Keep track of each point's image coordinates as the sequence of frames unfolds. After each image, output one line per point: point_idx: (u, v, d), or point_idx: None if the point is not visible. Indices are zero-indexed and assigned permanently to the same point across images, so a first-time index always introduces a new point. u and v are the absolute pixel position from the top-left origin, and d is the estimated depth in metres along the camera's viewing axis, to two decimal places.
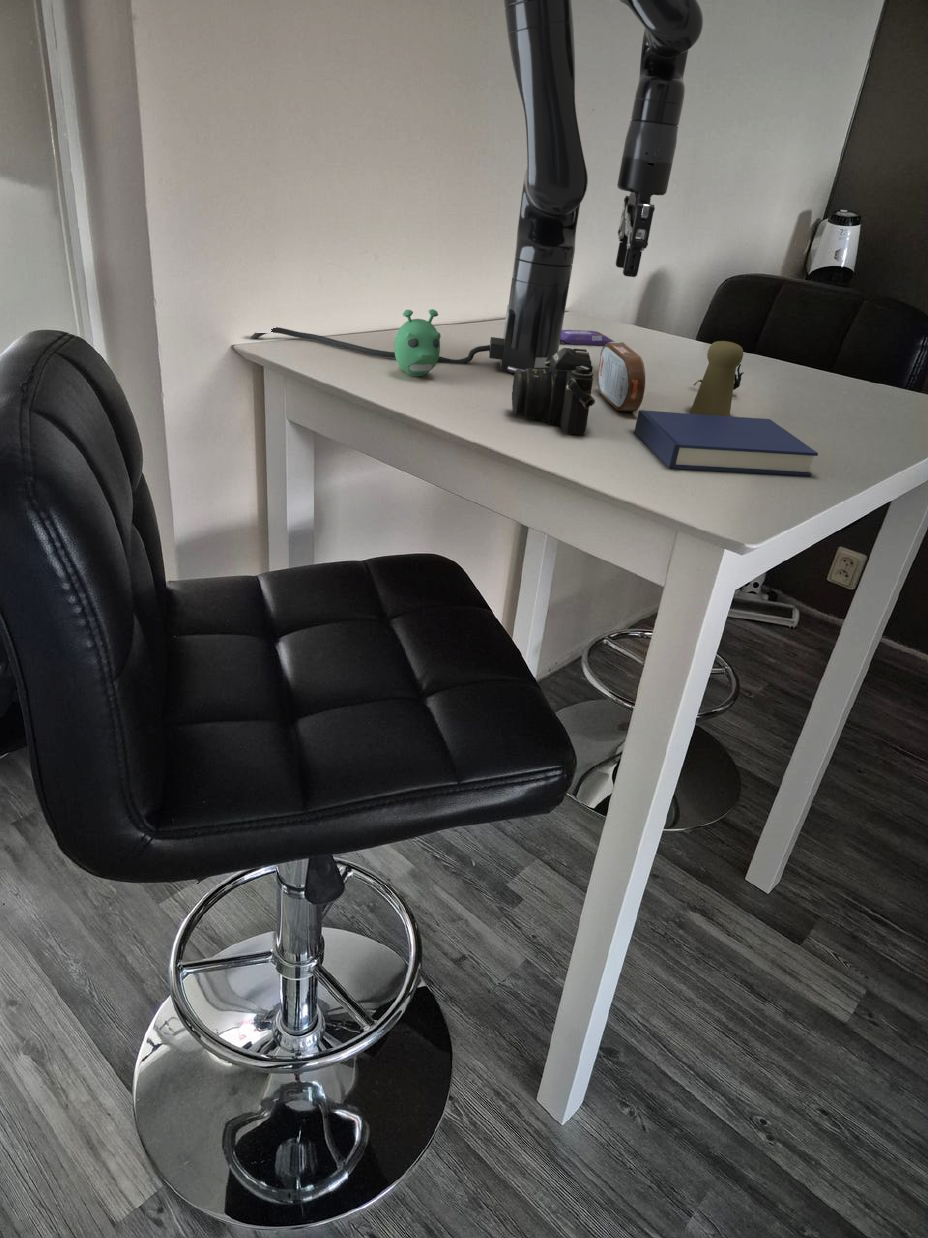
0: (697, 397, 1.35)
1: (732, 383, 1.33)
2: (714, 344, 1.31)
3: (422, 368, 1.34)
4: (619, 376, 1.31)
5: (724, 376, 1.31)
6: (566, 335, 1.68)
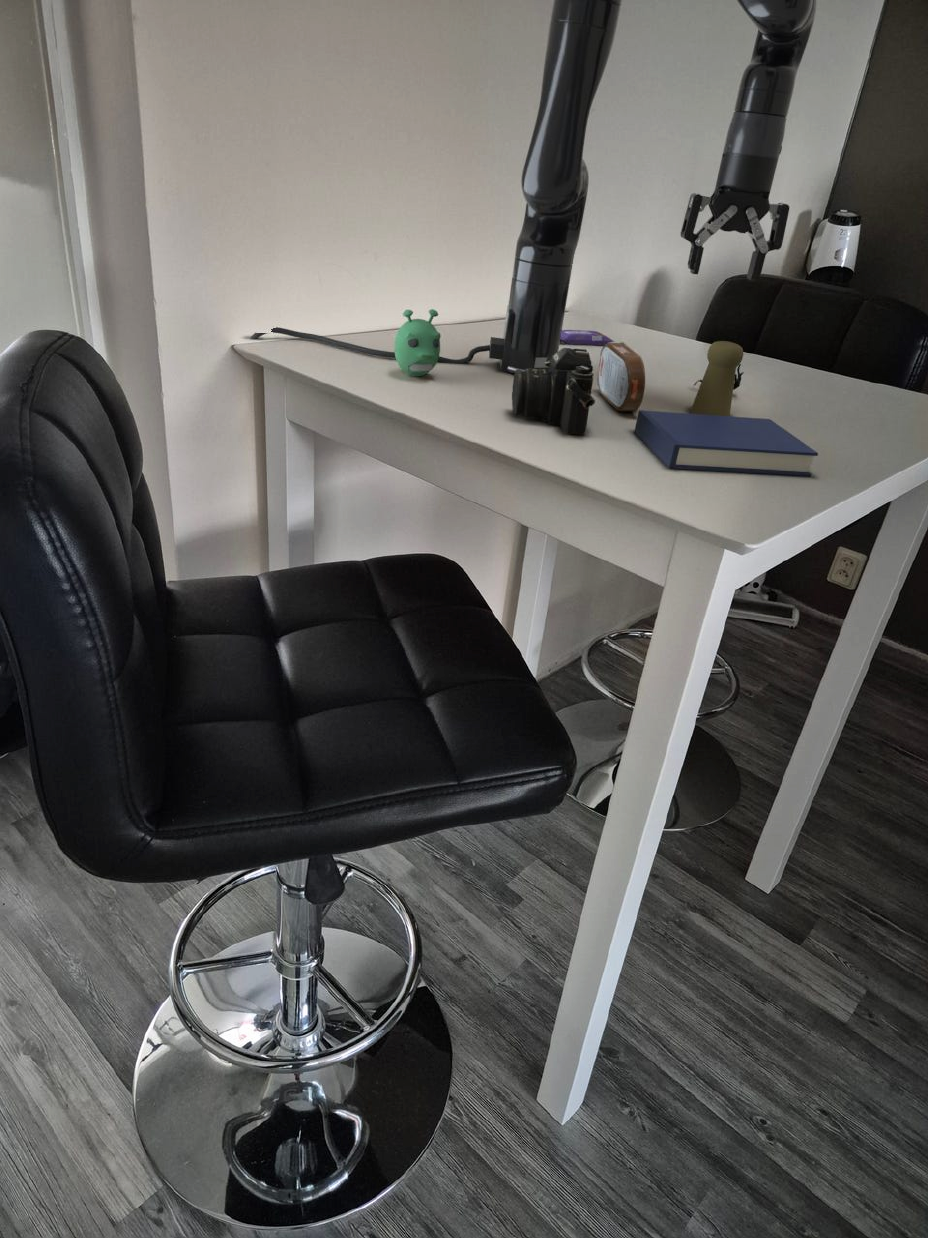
0: (697, 397, 1.35)
1: (732, 383, 1.33)
2: (714, 344, 1.31)
3: (422, 368, 1.34)
4: (619, 376, 1.31)
5: (724, 376, 1.31)
6: (566, 335, 1.68)
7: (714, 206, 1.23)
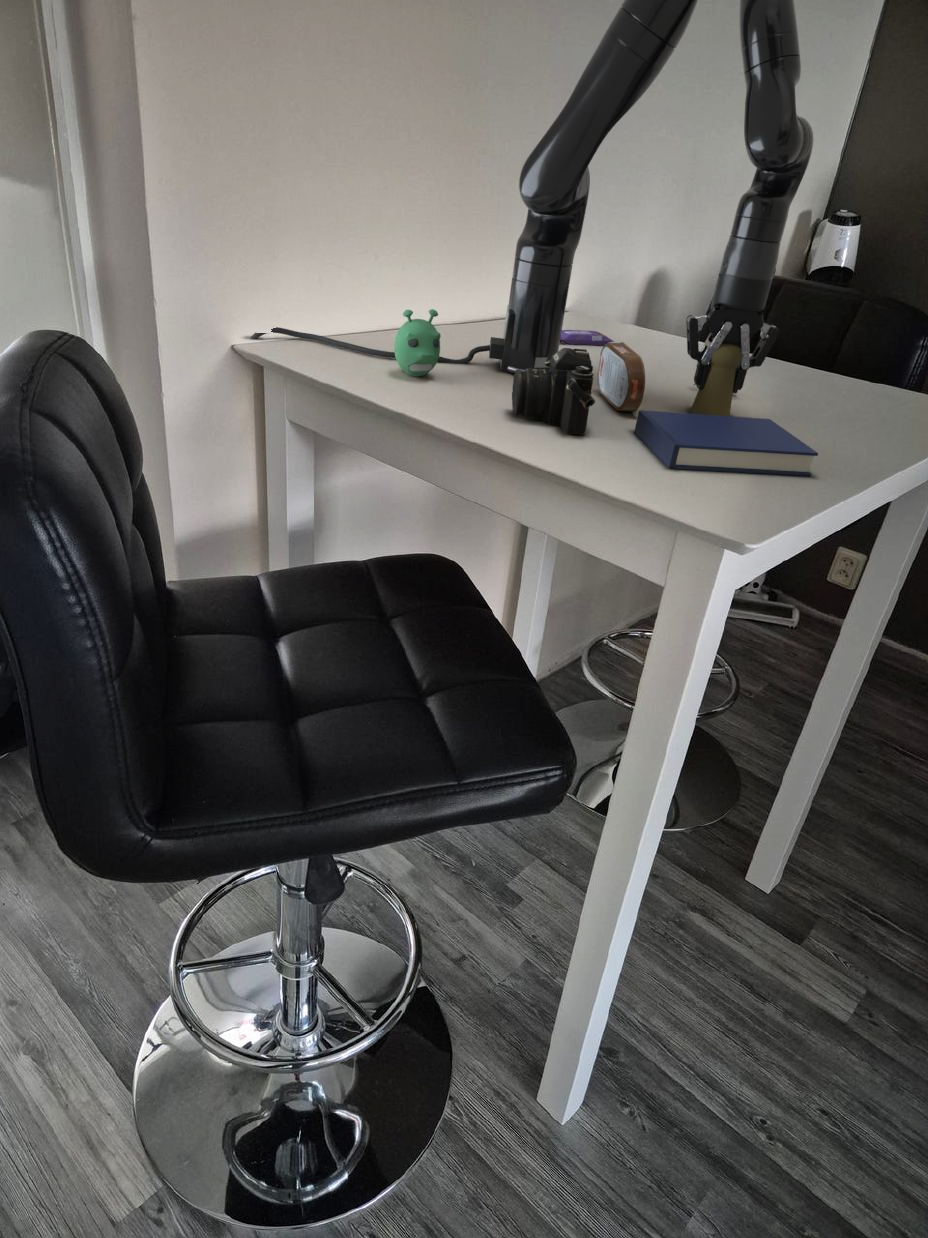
0: (697, 397, 1.35)
1: (732, 383, 1.33)
2: None
3: (422, 368, 1.34)
4: (619, 376, 1.31)
5: (724, 376, 1.31)
6: (566, 335, 1.68)
7: (711, 323, 1.29)
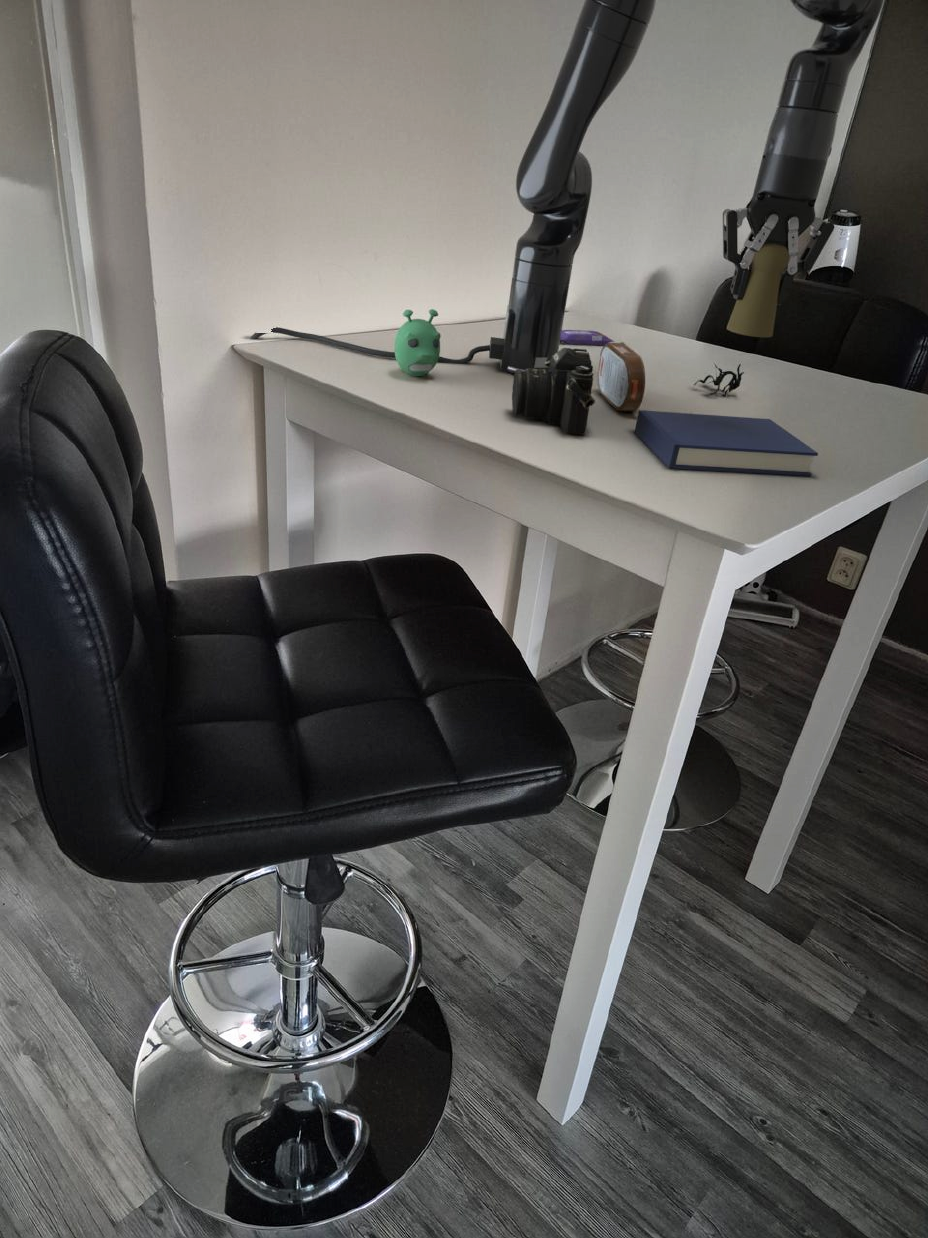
0: (735, 310, 1.14)
1: (777, 291, 1.12)
2: None
3: (422, 368, 1.34)
4: (619, 376, 1.31)
5: (768, 282, 1.11)
6: (566, 335, 1.68)
7: (753, 216, 1.08)
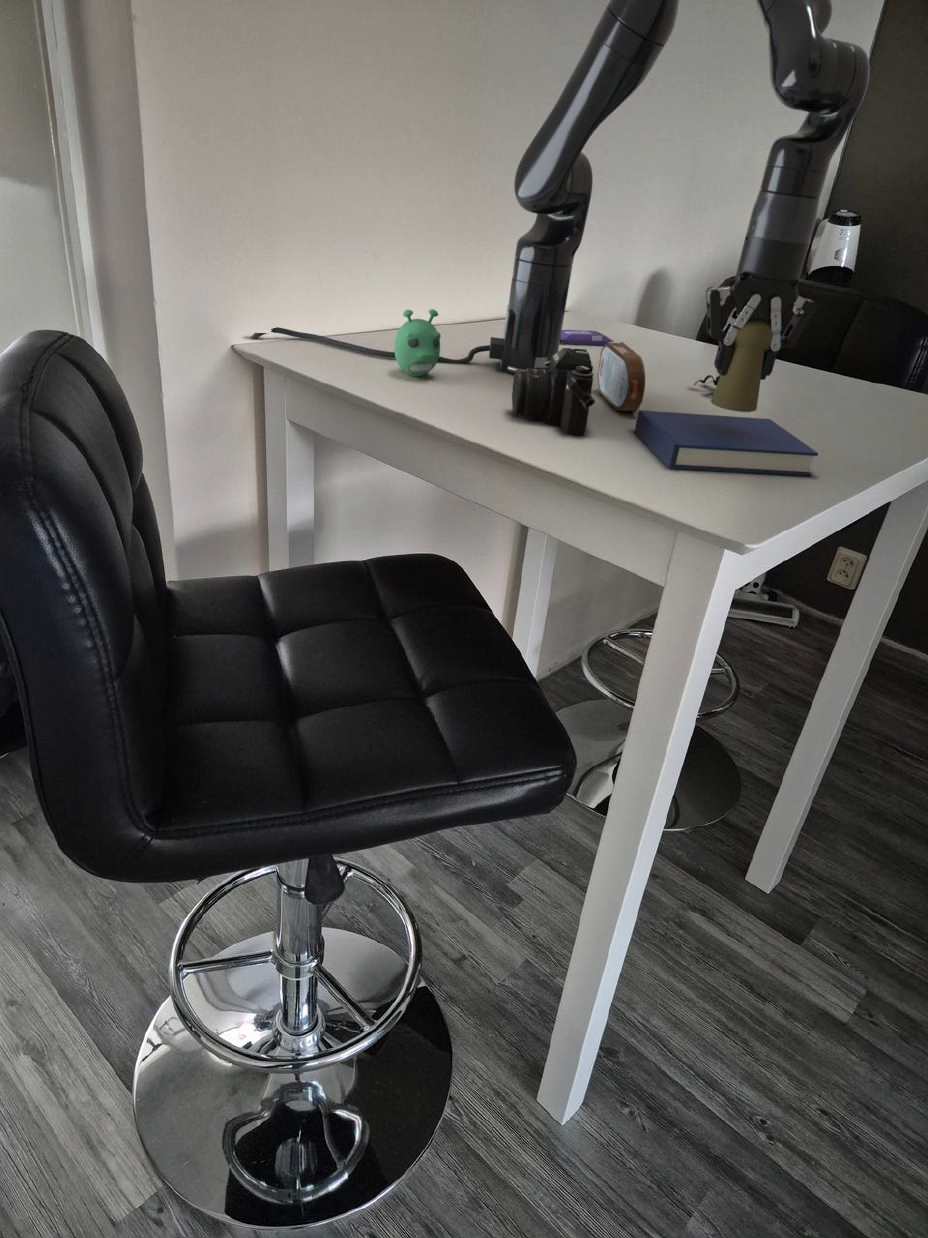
0: (719, 384, 1.15)
1: (760, 367, 1.13)
2: None
3: (422, 368, 1.34)
4: (619, 376, 1.31)
5: (751, 359, 1.11)
6: (566, 335, 1.68)
7: (736, 296, 1.09)
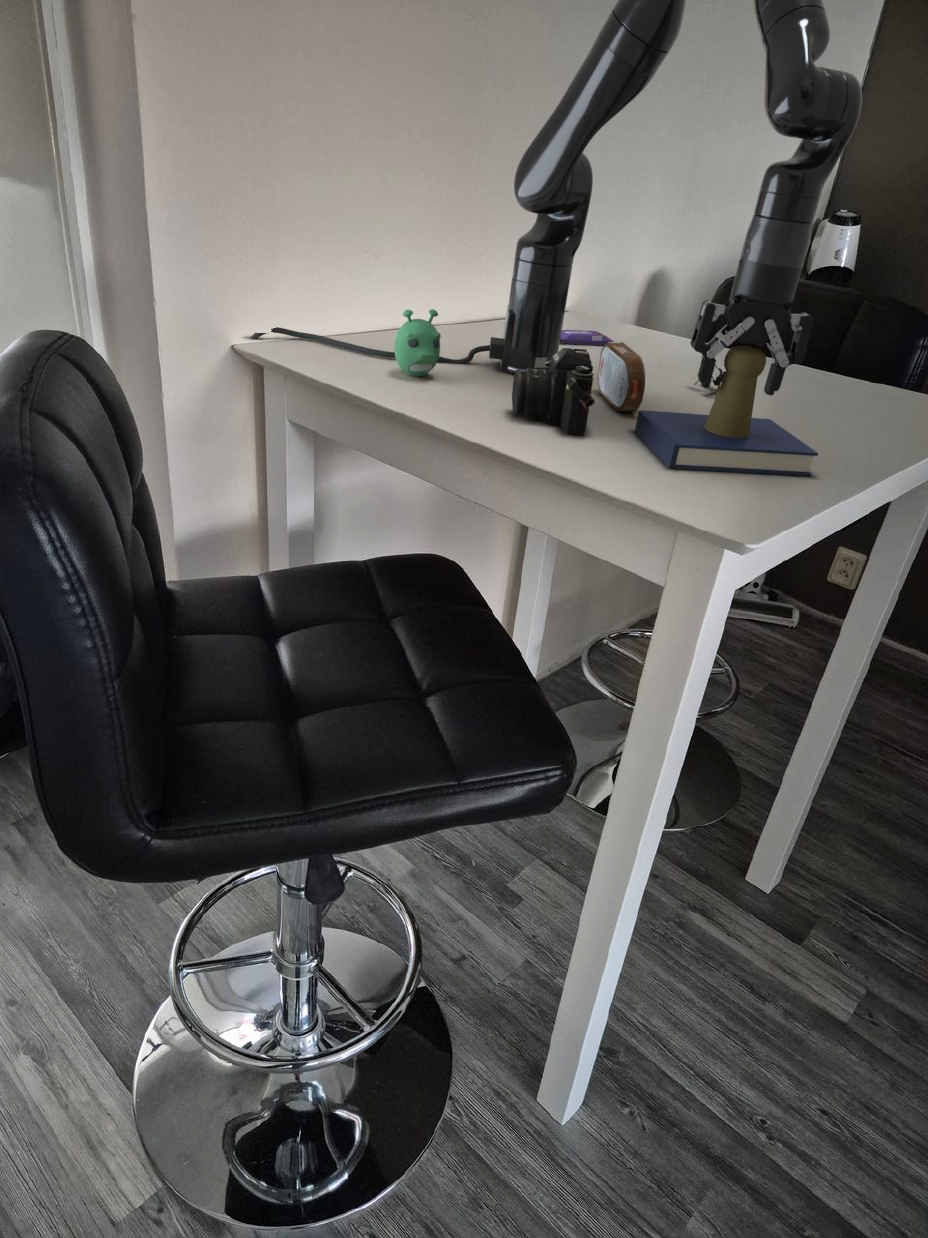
0: (712, 411, 1.17)
1: (753, 395, 1.14)
2: (732, 350, 1.13)
3: (422, 368, 1.34)
4: (619, 376, 1.31)
5: (744, 387, 1.13)
6: (566, 335, 1.68)
7: (729, 316, 1.10)
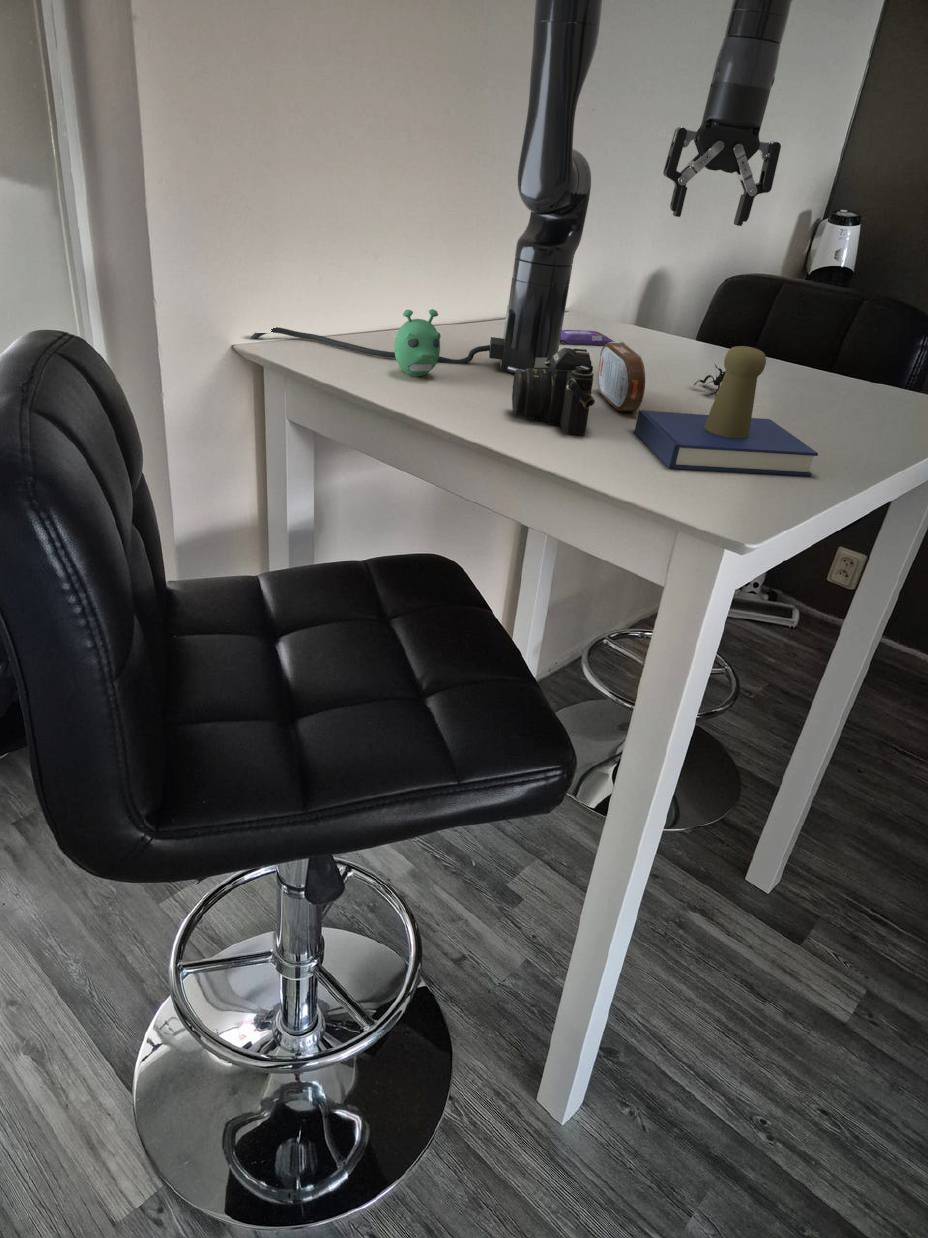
0: (712, 411, 1.17)
1: (753, 395, 1.14)
2: (732, 350, 1.13)
3: (422, 368, 1.34)
4: (619, 376, 1.31)
5: (744, 387, 1.13)
6: (566, 335, 1.68)
7: (699, 141, 1.14)
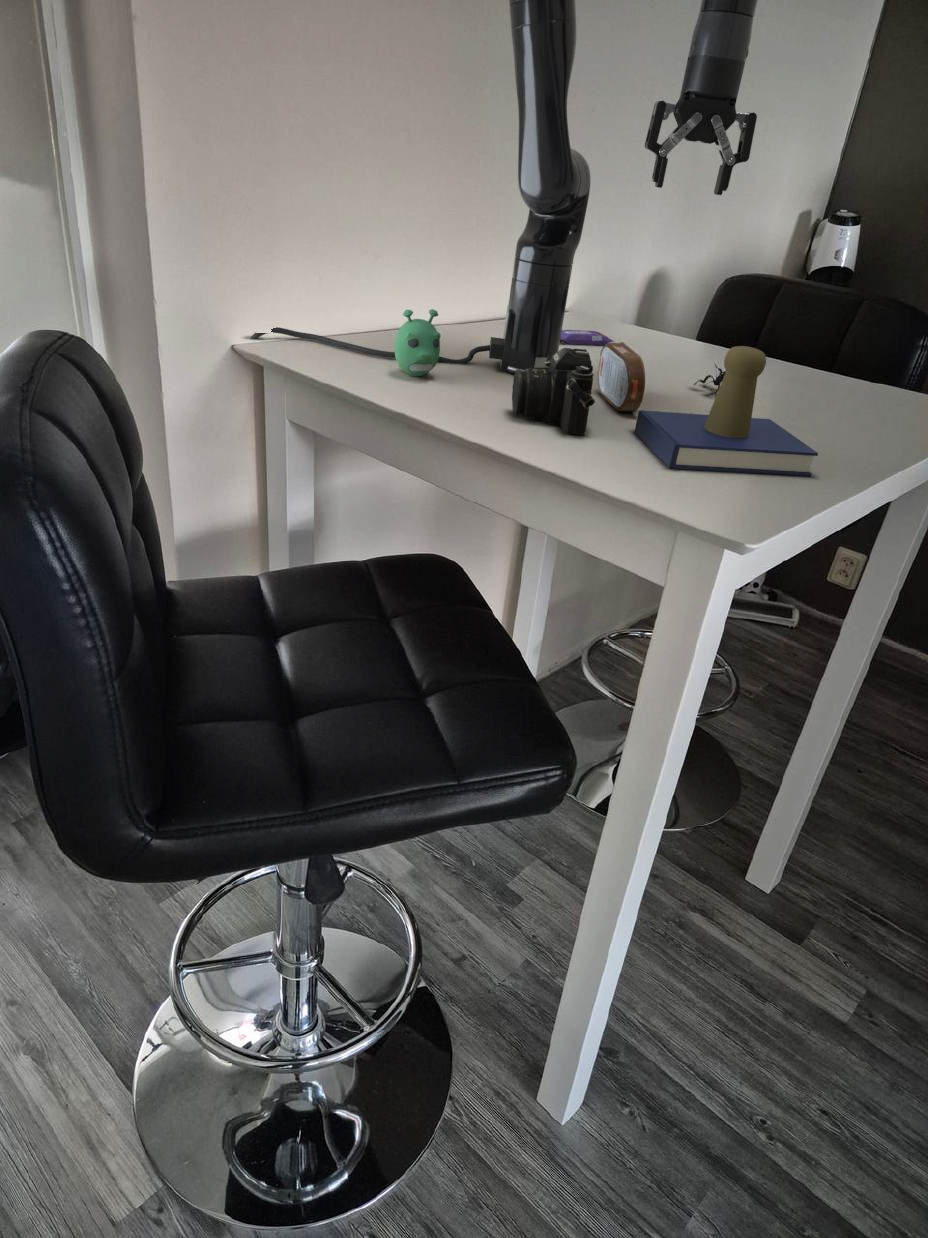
0: (712, 411, 1.17)
1: (753, 395, 1.14)
2: (732, 350, 1.13)
3: (422, 368, 1.34)
4: (619, 376, 1.31)
5: (744, 387, 1.13)
6: (566, 335, 1.68)
7: (678, 114, 1.19)
